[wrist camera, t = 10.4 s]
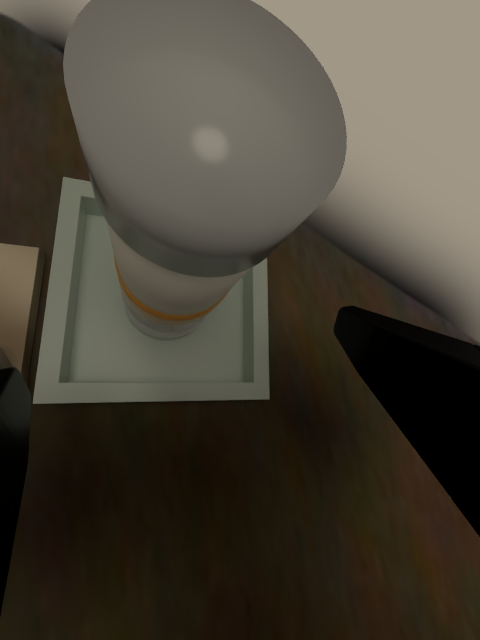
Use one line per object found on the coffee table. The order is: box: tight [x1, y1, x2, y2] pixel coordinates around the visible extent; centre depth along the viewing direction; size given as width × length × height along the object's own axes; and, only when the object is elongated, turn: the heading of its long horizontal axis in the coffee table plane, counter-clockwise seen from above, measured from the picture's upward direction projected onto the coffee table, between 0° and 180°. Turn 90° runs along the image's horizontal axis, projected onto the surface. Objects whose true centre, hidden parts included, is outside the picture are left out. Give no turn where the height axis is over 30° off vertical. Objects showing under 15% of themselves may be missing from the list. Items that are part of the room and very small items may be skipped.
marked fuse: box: [63, 0, 347, 341], centre depth 10 cm, size 4×4×12 cm
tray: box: [33, 177, 269, 404], centre depth 15 cm, size 10×10×2 cm
